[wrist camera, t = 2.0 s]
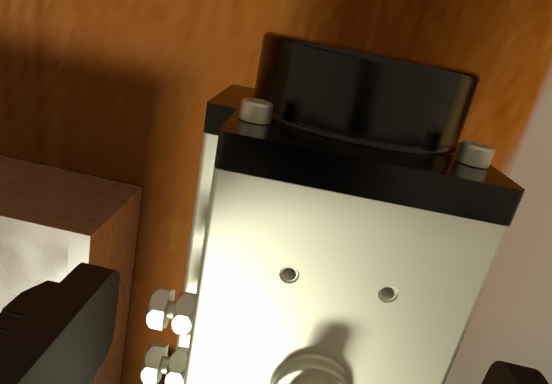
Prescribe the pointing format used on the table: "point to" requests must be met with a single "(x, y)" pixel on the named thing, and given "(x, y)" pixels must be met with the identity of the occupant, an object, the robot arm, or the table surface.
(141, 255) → the table surface
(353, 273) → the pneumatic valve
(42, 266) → the seat cradle
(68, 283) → the robot arm
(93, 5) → the table surface
